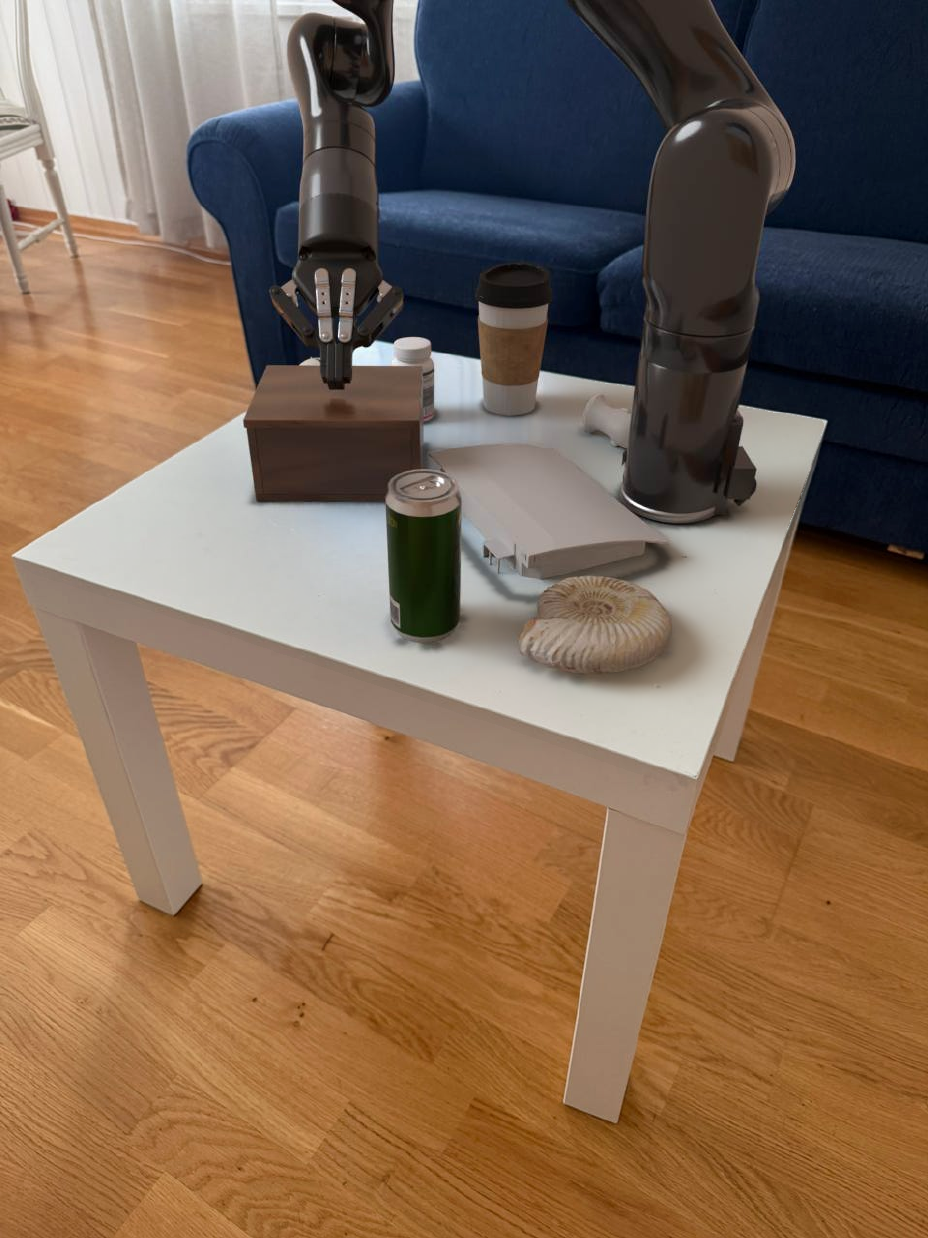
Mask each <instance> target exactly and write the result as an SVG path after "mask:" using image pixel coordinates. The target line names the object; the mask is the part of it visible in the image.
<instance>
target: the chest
mask: <svg viewBox="0 0 928 1238" xmlns="http://www.w3.org/2000/svg"><path fill="white" fill-rule="evenodd" d="M424 427H425V426H424V422H423V376H422V395H421V415H420V428H419V429H403V428H245V429H246V437H247V442H248V450H249V458H250V465H251V473H252V480H253V481H252V482H253V488H254V494H255V501H256V502H258V503H261V502H262V503H265V502H268V503H269V502H270V503H271V502H277V503H280V502H281V503H284V502H286V503H287V502H289V503H291V502H293V503H295V502H297V503H299V502H301V503H302V502H306V503H309V502H310V503H312V502H315V503H317V502H319V503H321V502H322V503H323V502H325V503H327V502H328V503H329V502H330V503H331V502H332V503H337V502H338V503H339V502H340V503H341V502H342V503H343V502H344V503H346V502H347V503H349V502H350V503H361V502H362V503H369V502H370V503H385V496H386V494H387V492H388V483H389V481H390V480H391V479H392V478H393V477H394V476H396V475H398V474H400V473H403V472H405V471H411V470H418V469H424V451H425V449H424V448H425V439H424V437H425V435H424V433H425V432H424V431H425V430H424V429H425V428H424Z"/></svg>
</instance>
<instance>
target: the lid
mask: <svg viewBox="0 0 928 1238" xmlns="http://www.w3.org/2000/svg"><path fill="white" fill-rule="evenodd" d="M422 376H423V367H422V366H391V365H352V380H351V382H350V384H345V390H329V388H328V385H327V384H324V383H323V380H322V378H321V375H320V366H307V365H300V364H298V365H293V364H291V365H290V364H289V365H285V364H284V365H282V364H281V365H280V364H277V365H276V364H268V365H267V364H266V366H265V369H264V371H263V374H262V376H261V377H260V380H259V383H258V384H257V387H256V389H255V392H254V394H253V396H252V399H251V401H250V403H249V405H248V408H247V410H246V411H245V412H246V413H245V415H244V417H243V419H242V422H243V428H244V429H246V428H403V429H419V428H420V415H421V395H422Z"/></svg>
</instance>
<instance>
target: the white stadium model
mask: <svg viewBox="0 0 928 1238" xmlns="http://www.w3.org/2000/svg"><path fill="white" fill-rule="evenodd" d="M427 455H428V456H429V457H430V458H431V459H432V461H434V462H435V463H436V464H437V465H438V466H439V467H440V471H441V472H445V473H447V474H449V475H451V476H453V477H454V478H455V479H456V480H457V482H458V486H459V492H460V494H461V498H462V515H463V517H464V518H465V519H466V520H467V522H469V523H470V524H471V525H472V526H473V527H474V528H475V529H476V531H477V532H478V533H479V534H480V535H481V537H483V538H484V539H485V540H486V541H483V542H482V557H483V558H486V557H487V556H489V565H490V566H492V565H493V564H492V562H493V556H494V557H495V558H496V566H497V567H496V573H497V574H500V567H501V565H500V564H501V560H502V559H503V560H504V561H505V562H506V563H507V564H508V566H509V567H510V568H511V569H512V570H513V571H516V573H517V574H518V575H520V576H521V577H524V578H530V579H536V580H544V579H549V578H553V577H558V576H561V575H566V574H570V573H573V572H578V571H581V570H585V569H589V568H593V567H597V566H601V565H605V564H608V563H613V562H617V561H621V560H626V559H629V558H634V557H637V556H642V555H645V550H646V543H654V544H662V545H670V541H669V540H667V538H665V537H663V535H661V534H660V533H659V532H657V530H655V529H654V528H652V527H651V526H650V525H648V524H647V523H646V522H645V521H644V520H642V519H641V518H640V517H639V516H637V514H636V513H635V512H633V511H631V510H630V509H628V508H627V507H626V506H625V505H624V504H623V503H621V502H620V501H619V500H617V499H616V498H615V497H614V496H613V495H611V494H610V493H609V492H608V491H606V490H605V489H604V488H603V487H601V486H600V485H599V484H597V482H595V481H594V480H593V479H591V478H590V477H589V476H588V475H587V474H586V473H584V472H583V471H582V470H580V469H579V468H577V466H576V465H574V464H573V463H571V462H570V461H569V460H568V459H566V457H564V456H563V455H561V453H559V452H558V451H557V450H555V449H554V448H553V447H548V446H542V445H536V444H535V445H534V444H528V443H525V444H524V443H518V444H517V443H497V444H482V445H479V444H478V445H471V446H469V445H468V446H461V447H460V446H459V447H451V448H446V449H440V450H436V451H430V452H428V454H427Z"/></svg>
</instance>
